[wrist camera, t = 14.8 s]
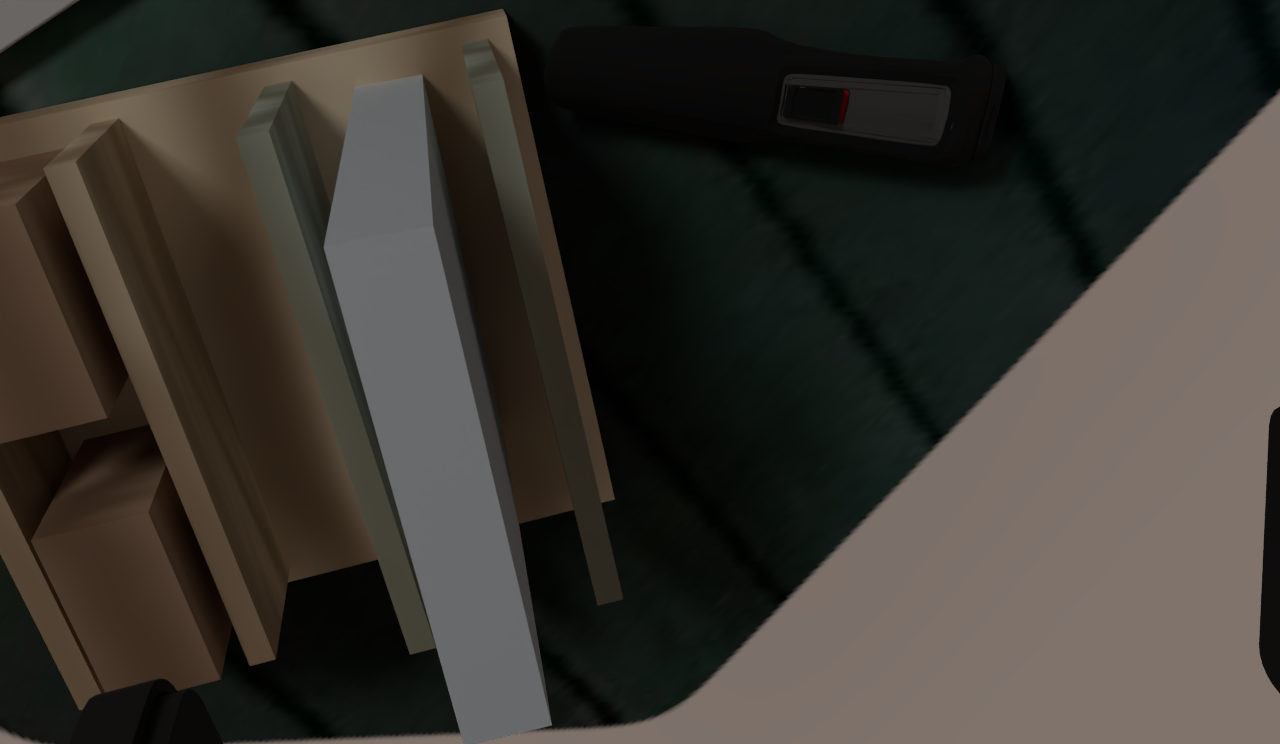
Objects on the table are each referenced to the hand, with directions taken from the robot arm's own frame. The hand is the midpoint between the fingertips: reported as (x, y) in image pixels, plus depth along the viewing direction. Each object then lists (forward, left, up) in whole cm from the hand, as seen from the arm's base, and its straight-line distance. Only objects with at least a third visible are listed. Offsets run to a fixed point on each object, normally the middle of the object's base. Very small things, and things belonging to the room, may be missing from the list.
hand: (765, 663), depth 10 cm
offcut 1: (+14, +2, -28) cm, 32 cm away
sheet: (+4, +6, -28) cm, 29 cm away
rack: (+9, +7, -30) cm, 32 cm away
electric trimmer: (-9, +3, -30) cm, 31 cm away
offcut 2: (+14, +11, -28) cm, 34 cm away
